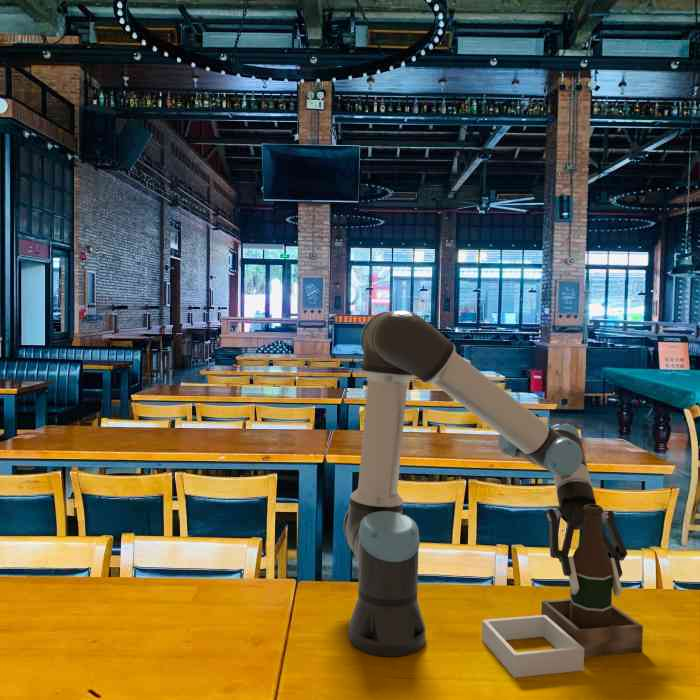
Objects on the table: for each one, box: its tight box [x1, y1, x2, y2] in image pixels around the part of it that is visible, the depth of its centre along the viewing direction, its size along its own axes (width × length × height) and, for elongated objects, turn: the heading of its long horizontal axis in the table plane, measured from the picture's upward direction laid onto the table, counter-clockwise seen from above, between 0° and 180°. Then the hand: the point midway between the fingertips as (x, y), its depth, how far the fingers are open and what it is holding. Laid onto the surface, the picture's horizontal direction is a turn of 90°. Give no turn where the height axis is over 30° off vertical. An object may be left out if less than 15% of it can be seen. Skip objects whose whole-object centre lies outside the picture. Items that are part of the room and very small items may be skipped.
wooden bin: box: [540, 598, 644, 659], centre depth 125 cm, size 14×14×5 cm
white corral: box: [481, 614, 585, 679], centre depth 118 cm, size 14×14×4 cm
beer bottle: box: [569, 503, 613, 629], centre depth 125 cm, size 8×8×24 cm
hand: (596, 592), depth 122 cm, fingers closed on beer bottle, 7 cm apart
